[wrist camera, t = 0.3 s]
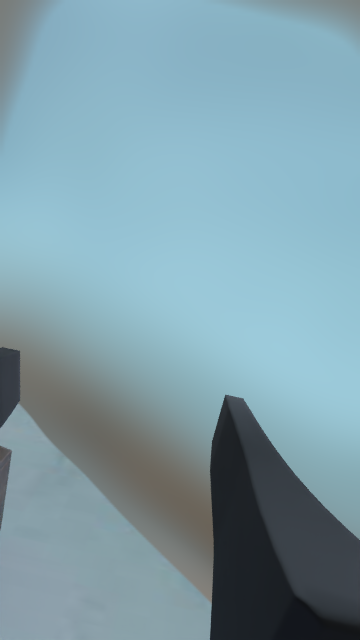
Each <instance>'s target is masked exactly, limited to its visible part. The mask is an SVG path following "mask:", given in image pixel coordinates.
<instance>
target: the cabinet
mask: <svg viewBox="0 0 360 640" xmlns="http://www.w3.org/2000/svg"><path fill="white" fill-rule="evenodd" d="M11 453H12V450H10V449H7V448H5V447H2V446H0V529H1V523H2V516H3V509H4V502H5V495H6V488H7V481H8V474H9V467H10V460H11V459H10V458H11Z"/></svg>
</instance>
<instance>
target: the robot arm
mask: <svg viewBox="0 0 360 640" xmlns="http://www.w3.org/2000/svg"><path fill="white" fill-rule="evenodd" d="M19 401H20V351H18V350H13V349H8V348H3V347H2V348H0V428H1V426H2V425H3V424H4V423H5V421H6V420H7V419H8V417H9V416H10V414H11V413H12V411H13V410H14V408H15V407H16V405H17V404H18V402H19ZM210 476H211V496H212V516H213V536H214V564H213V565H214V566H213V590H212V591H213V592H212V611H211V632H210V640H360V540H359V539H358V538H357V537H356V536H354V535H353V534H352V533H351V532H350V531H349V530H348V529H347V528H346V527H345V526H344V525H342V523H341V522H340V521H338V520H337V519H336V518H335V517H334V516H333V515H332V514H331V513H330V512H329V511H328V510H327V509H326V508H325V507H324V506H323V505H322V504H321V503H320V502H319V501H318V500H317V498H316V497H315V496H314V495H313V494H312V493H311V492H310V491H309V490H308V489H307V487H306V486H305V485H304V484H303V483H302V482H301V481H300V479H299V478H298V477H297V476H296V475H295V474H294V472H293V471H292V470H291V469H290V467H289V466H288V465H287V464H286V462H285V461H284V460H283V458H282V457H281V456H280V454H279V453H278V452H277V450H276V449H275V448H274V446H273V445H272V443H271V442H270V441H269V439H268V437H267V436H266V434H265V433H264V431H263V430H262V428H261V427H260V425H259V423H258V422H257V420H256V419H255V417H254V415H253V414H252V412H251V410H250V409H249V407H248V406H247V404H246V402H245V401H244V399H243V398H238V397H233V396H229V395H225V398H224V401H223V405H222V408H221V412H220V416H219V419H218V423H217V426H216V430H215V433H214V437H213V440H212V450H211V465H210Z"/></svg>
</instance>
